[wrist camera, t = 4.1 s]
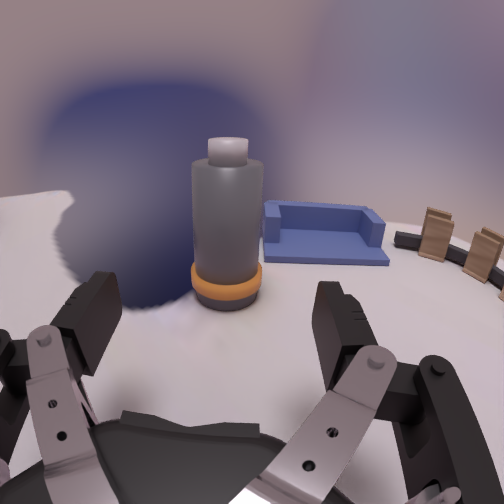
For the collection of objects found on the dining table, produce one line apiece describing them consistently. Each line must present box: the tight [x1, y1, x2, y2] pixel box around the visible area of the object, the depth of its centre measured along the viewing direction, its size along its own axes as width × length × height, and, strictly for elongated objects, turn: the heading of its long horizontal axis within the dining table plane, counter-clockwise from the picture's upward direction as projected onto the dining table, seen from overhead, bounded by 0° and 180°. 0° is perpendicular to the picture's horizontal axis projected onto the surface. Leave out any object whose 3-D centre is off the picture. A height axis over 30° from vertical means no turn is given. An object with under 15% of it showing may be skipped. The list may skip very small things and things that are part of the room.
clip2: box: [462, 227, 504, 284], centre depth 26 cm, size 4×3×4 cm
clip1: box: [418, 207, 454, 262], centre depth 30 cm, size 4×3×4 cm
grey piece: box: [191, 137, 264, 311], centre depth 20 cm, size 5×5×11 cm
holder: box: [262, 200, 390, 266], centre depth 30 cm, size 8×12×3 cm, turn 90°
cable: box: [394, 231, 504, 287], centre depth 27 cm, size 16×4×1 cm, turn 45°
